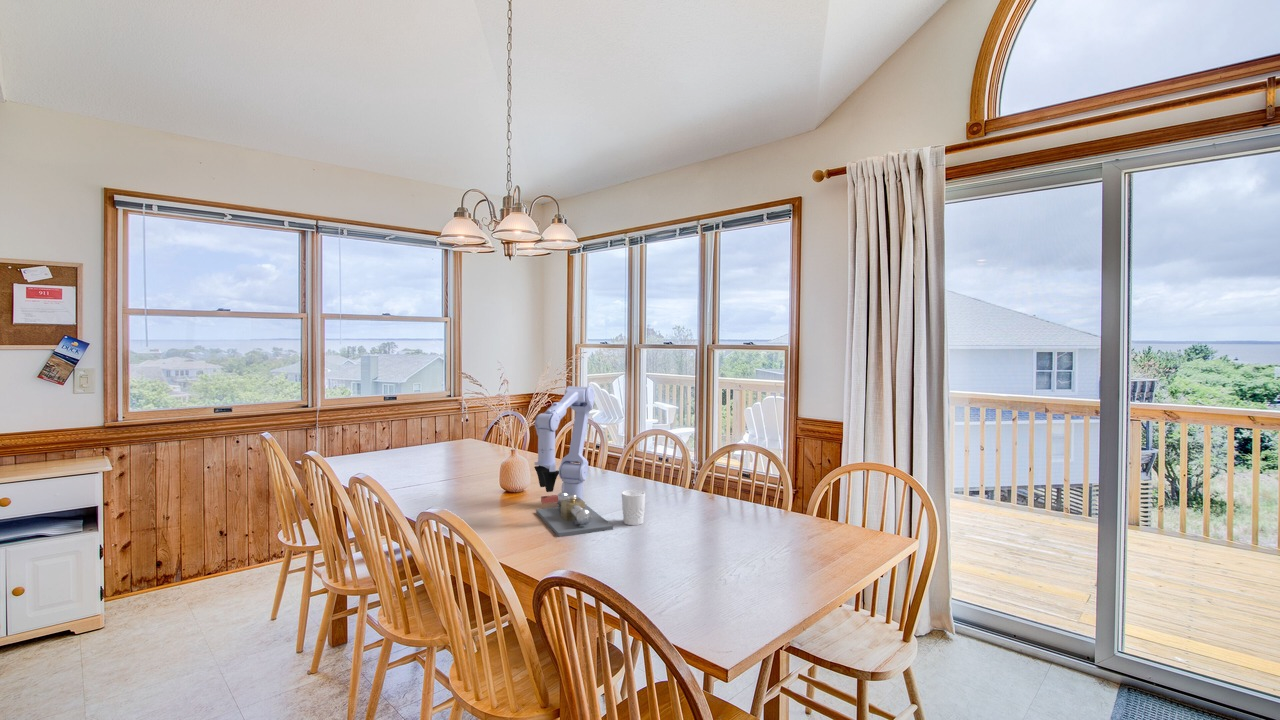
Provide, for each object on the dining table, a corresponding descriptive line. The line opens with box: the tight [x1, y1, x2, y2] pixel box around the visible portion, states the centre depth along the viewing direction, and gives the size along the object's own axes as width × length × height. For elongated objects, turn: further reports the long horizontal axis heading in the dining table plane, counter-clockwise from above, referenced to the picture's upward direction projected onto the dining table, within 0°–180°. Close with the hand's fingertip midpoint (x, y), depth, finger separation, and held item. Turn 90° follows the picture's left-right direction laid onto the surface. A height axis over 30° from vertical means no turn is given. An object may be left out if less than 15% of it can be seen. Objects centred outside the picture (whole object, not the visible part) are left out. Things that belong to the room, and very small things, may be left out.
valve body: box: [555, 491, 592, 526], centre depth 194 cm, size 25×6×6 cm, turn 24°
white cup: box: [621, 489, 646, 526], centre depth 193 cm, size 8×8×10 cm
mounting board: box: [535, 503, 614, 538], centre depth 195 cm, size 28×18×1 cm, turn 24°
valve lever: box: [540, 494, 577, 504], centre depth 192 cm, size 12×3×2 cm, turn 114°
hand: (546, 489), depth 195 cm, fingers open, 7 cm apart
